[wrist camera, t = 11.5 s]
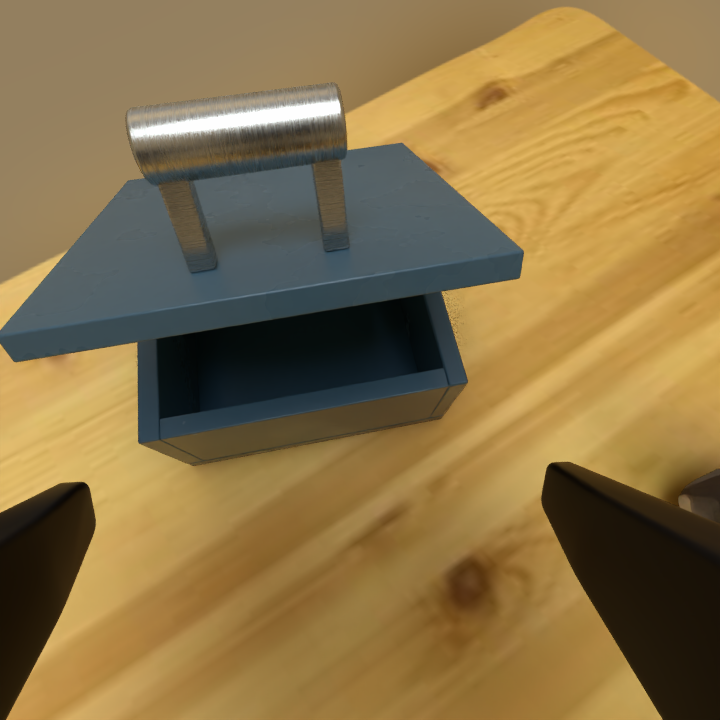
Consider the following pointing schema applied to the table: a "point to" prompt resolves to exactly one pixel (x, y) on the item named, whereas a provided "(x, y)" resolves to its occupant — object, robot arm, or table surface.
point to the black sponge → (703, 496)
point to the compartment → (298, 379)
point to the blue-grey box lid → (255, 228)
